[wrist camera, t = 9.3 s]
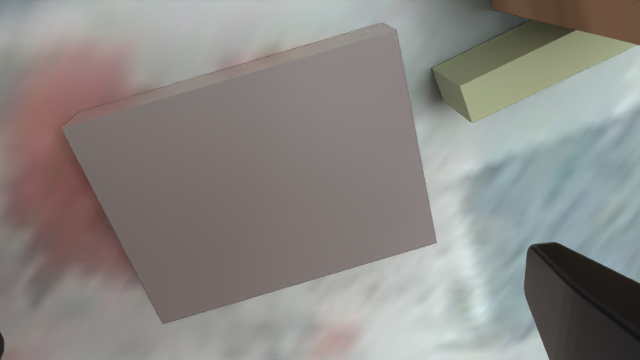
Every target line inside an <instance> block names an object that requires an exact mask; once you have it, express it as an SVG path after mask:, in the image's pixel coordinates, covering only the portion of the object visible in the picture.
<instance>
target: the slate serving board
mask: <svg viewBox="0 0 640 360" xmlns="http://www.w3.org/2000/svg"><path fill="white" fill-rule="evenodd" d="M61 129H62V131H63V133H64V135H65V137H66V139H67V141H68V143H69V144H70V146H71V148H72V150H73V152H74V154H75V156H76V158H77V160H78V162H79V164H80V166H81V168H82V170H83V171H84V173H85V175H86V177H87V179H88V181H89V183H90V185H91V187H92V189H93V191H94V193H95V195H96V197H97V199H98V200H99V202H100V204H101V206H102V208H103V210H104V212H105V214H106V216H107V218H108V220H109V222H110V224H111V226H112V228H113V229H114V231H115V233H116V235H117V237H118V239H119V241H120V243H121V245H122V247H123V249H124V251H125V253H126V255H127V257H128V258H129V260H130V262H131V264H132V266H133V268H134V270H135V272H136V274H137V276H138V278H139V280H140V282H141V284H142V286H143V287H144V289H145V291H146V293H147V295H148V297H149V299H150V301H151V303H152V305H153V307H154V309H155V311H156V313H157V314H158V316H159V318H160V320H161V322H162V324H165V323H168V322H172V321H175V320H179V319H182V318H185V317H189V316H192V315H195V314H199V313H202V312H206V311H209V310H212V309H216V308H219V307H222V306H226V305H229V304H233V303H236V302H239V301H243V300H246V299H249V298H253V297H256V296H260V295H263V294H266V293H270V292H273V291H276V290H280V289H283V288H287V287H290V286H293V285H297V284H300V283H303V282H307V281H310V280H313V279H317V278H320V277H324V276H327V275H330V274H334V273H337V272H340V271H344V270H347V269H351V268H354V267H357V266H361V265H364V264H367V263H371V262H374V261H378V260H381V259H384V258H388V257H391V256H394V255H398V254H401V253H405V252H408V251H411V250H415V249H418V248H421V247H425V246H428V245H432V244H435V243H437V241H436V236H435V231H434V225H433V220H432V215H431V210H430V204H429V199H428V194H427V188H426V183H425V178H424V173H423V167H422V162H421V157H420V151H419V146H418V141H417V136H416V130H415V125H414V120H413V114H412V109H411V104H410V99H409V93H408V88H407V83H406V78H405V72H404V67H403V62H402V56H401V51H400V46H399V41H398V35H397V30H395V29H393V28H392V27H390V26H388V25H386V24H384V23H380V24H377V25H373V26H370V27H366V28H363V29H360V30H356V31H353V32H349V33H346V34H342V35H339V36H336V37H332V38H329V39H325V40H322V41H319V42H315V43H312V44H308V45H305V46H302V47H298V48H295V49H291V50H288V51H284V52H281V53H278V54H274V55H271V56H267V57H264V58H261V59H257V60H254V61H250V62H247V63H243V64H240V65H237V66H233V67H230V68H226V69H223V70H220V71H216V72H213V73H209V74H206V75H203V76H199V77H196V78H192V79H189V80H185V81H182V82H179V83H175V84H172V85H168V86H165V87H162V88H158V89H155V90H151V91H148V92H145V93H141V94H138V95H134V96H131V97H127V98H124V99H121V100H117V101H114V102H110V103H107V104H104V105H100V106H97V107H93V108H90V109H87V110H83V111H80V112H78V113H77V114H76V115H75V116H74V117H73V118H72V119H71V120H70V121H69V122H68V123H66V124H65V125H64V126H63V127H62V128H61Z"/></svg>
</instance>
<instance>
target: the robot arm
mask: <svg viewBox="0 0 640 360" xmlns="http://www.w3.org/2000/svg"><path fill="white" fill-rule="evenodd" d="M524 292H525V297H526V300H527V303H528V305H529V308H530V311H531V313H532V316H533V318H534V321H535V324H536V326H537V329H538V331H539V334H540V337H541V339H542V342H543V344H544V347H545V350H546V352H547V355H548V357H549V360H640V283H638V282H636V281H634V280H632V279H630V278H628V277H626V276H624V275H622V274H620V273H618V272H616V271H614V270H612V269H610V268H608V267H606V266H604V265H602V264H600V263H598V262H596V261H594V260H592V259H590V258H588V257H586V256H584V255H581V254H579V253H577V252H575V251H573V250H571V249H569V248H567V247H565V246H563V245H561V244H559V243H557V242H548V243H539V244H532V245H531V246H530V247H529V248H528V251H527V258H526V269H525V280H524ZM3 352H4V338H3V336H2V334H1V332H0V360H1V358H2V356H3Z"/></svg>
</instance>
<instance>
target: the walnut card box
mask: <svg viewBox="0 0 640 360" xmlns="http://www.w3.org/2000/svg"><path fill="white" fill-rule="evenodd" d="M491 3H492V7H493V10H495V11H499V12H504V13H508V14H512V15H516V16H520V17H524V18H528V19H533V20H537V21H541V22H545V23H549V24H553V25H558V26H562V27H566V28H570V29H574V30H578V31H583V32H587V33H591V34H595V35H599V36H603V37H608V38H612V39H616V40H620V41H624V42H628V43H632V44H637V45H640V0H491Z"/></svg>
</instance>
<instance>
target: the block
mask: <svg viewBox="0 0 640 360" xmlns="http://www.w3.org/2000/svg"><path fill="white" fill-rule="evenodd" d="M636 45H637V44H632V43H628V42H624V41H620V40H616V39H612V38H608V37H603V36H599V35H595V34H591V33H587V32H583V31H578V30H574V29H570V28H566V27H562V26H558V25H553V24H549V23H545V22H541V21H537V20H533V19H532V20H530V21H527V22H525V23H523V24H521V25H519V26H517V27H515V28H513V29H511V30H509V31H507V32H505V33H503V34H501V35H499V36H497V37H495V38H492V39H490V40H488V41H486V42H484V43H482V44H480V45H478V46H476V47H474V48H472V49H470V50H468V51H466V52H464V53H462V54H459V55H457V56H455V57H453V58H451V59H449V60H447V61H445V62H443V63H441V64H439V65H437V66H435V67H433V68H432V71H433V73H434V76H435V79H436V82H437V85H438V87H439V90H440V93H441V96H442V99H443V101H444V102H446V103H447V104H448V105H449V106H451V107H452V108H453V109H455V110H456V111H457V112H459V113H460V114H461V115H462V116H464V117H465V118H466V119H468V120H469V121H470V122H472V123H474V122H476V121H478V120H480V119H482V118H484V117H486V116H488V115H491V114H493V113H495V112H497V111H499V110H501V109H503V108H505V107H507V106H510V105H512V104H514V103H516V102H518V101H520V100H522V99H524V98H526V97H529V96H531V95H533V94H535V93H537V92H539V91H541V90H543V89H545V88H548V87H550V86H552V85H554V84H556V83H558V82H560V81H562V80H564V79H566V78H569V77H571V76H573V75H575V74H577V73H579V72H581V71H583V70H585V69H588V68H590V67H592V66H594V65H596V64H598V63H600V62H602V61H604V60H607V59H609V58H611V57H613V56H615V55H617V54H619V53H621V52H623V51H625V50H628V49H630V48H632V47H634V46H636Z"/></svg>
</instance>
